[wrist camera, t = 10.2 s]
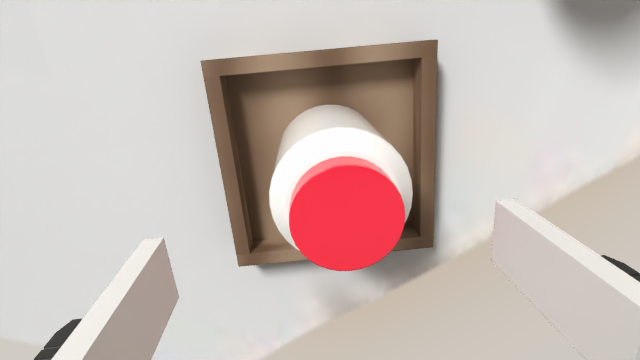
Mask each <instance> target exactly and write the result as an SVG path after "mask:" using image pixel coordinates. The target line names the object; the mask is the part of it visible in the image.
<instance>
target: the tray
mask: <svg viewBox="0 0 640 360" xmlns="http://www.w3.org/2000/svg"><path fill="white" fill-rule="evenodd" d="M437 48H438V40H426V41H414V42H403V43H392V44H381V45H370V46H359V47H348V48H337V49H326V50H315V51H304V52H292V53H281V54H270V55H259V56H248V57H237V58H226V59H215V60H205V61H201V66H202V71H203V77H204V82H205V87H206V93H207V98H208V104H209V109H210V114H211V120H212V125H213V130H214V136H215V141H216V147H217V152H218V157H219V163H220V168H221V174H222V179H223V184H224V190H225V195H226V201H227V206H228V211H229V217H230V222H231V228H232V233H233V238H234V244H235V249H236V255H237V260H238V265H239V266H249V265H259V264H269V263H279V262H289V261H299V260H309V259H308V258H306V257H305V256H304V255H303V254H302V253H301V252H300V251H299V250H297V249H295V248H294V247H293V246H292V245H291V244H290V243H289V242H288V241H286V239H285V238H284V237H283V235H282V234H281V233H280V232H279V230H278V228H277V226H276V224H275V222H274V220H273V218H272V214H271V210H270V205H269V189H270V184H271V179H272V174H273V170H274V165H275V161H276V156H277V152H278V147H279V143H280V140H281V137H282V135H283V133H284V131H285V129H286V128H287V126H288V125H289V124H290V122H291V121H293V120H294V119H295V118H296V117H297V116H298V115H299V114H301V113H303V112H304V111H306V110H308V109H310V108H313V107H315V106H320V105H326V104H331V105H341V106H345V107H349V108H351V109H353V110H355V111H357V112H359V113H360V114H361V115H363V116H364V117H366V119H367V120H368V121H369V122H370V123H371V124H372V125H373V126H374V127H375V128H376V129H377V130H378V131H379V132H380V133H381V134H382V135H383V136H384V137H385V138H386V140H387V141H388V142H389V143H390V144H391V145H392V146H393V147H394V148H395V149H396V150H397V151H398V153H399V154H400V155H401V156H402V158H403V160H404V162H405V163H406V165H407V167H408V170H409V173H410V176H411V179H412V190H413V196H412V205H411V209H410V212H409V215H408V218H407V220H406V222H405V224H404V228H403V231H402V234H401V237H400V239H399V240H398V242H397V244H396V245H395V247H394V248H393V249H392V250H391V251H400V250H410V249H420V248H430V247H433V230H434V184H435V139H436V94H437Z"/></svg>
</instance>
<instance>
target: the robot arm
mask: <svg viewBox="0 0 640 360" xmlns="http://www.w3.org/2000/svg"><path fill="white" fill-rule="evenodd" d="M491 261H492V262H493V263H494V264H495V265H496V266H497V267H498V268H499V269H500V270H501V272H502V273H503V274H504V275H505V276H506V277H507V278H508V279H509V280H510V281H511V282H512V283H513V284H514V285H515V286H516V287H517V288H518V289H519V290H520V291H521V293H523V295H524V296H525V297H526V298H527V299H528V300H529V301H530V302H531V303H532V304H533V305H534V306H535V307H536V308H537V309H538V310H539V311H540V312H541V314H542V315H543V316H544V317H545V318H546V319H547V320H548V321H549V322H550V323H551V324H552V325H553V326H554V327H555V328H556V329H557V330H558V331H559V332H560V333H561V334H562V336H564V338H565V339H566V340H567V341H568V342H569V343H570V344H571V345H572V346H573V347H574V348H575V349H576V350H577V351H578V352H579V353H580V355H582V357H583V358H584V359H585V360H640V273H638V272H637V271H635V270H634V269H632V268H630V267H629V266H627V265H626V264H624V263H622V262H620V261H617V260H615V259H612V258H610V257H607V256H605V255H602V256H600V255H598V254H597V253H595V252H594V251H592V250H591V249H589V248H588V247H586V246H585V245H583V244H581V243H580V242H579V241H577V240H576V239H574V238H573V237H571V236H570V235H568V234H566V233H565V232H564V231H562V230H560V229H559V228H558V227H556V226H555V225H553V224H552V223H550V222H549V221H547V220H545V219H544V218H543V217H541V216H539V215H538V214H537V213H535V212H534V211H532V210H531V209H529V208H528V207H526V206H525V205H523V204H522V203H520V202H519V201H517V200H516V199H507V200H498V201H496V205H495V217H494V228H493V240H492V252H491ZM178 298H179V295H178V291H177V288H176V284H175V280H174V276H173V272H172V268H171V265H170V261H169V257H168V253H167V249H166V245H165V241H164V238H156V239H147V240H143V241H142V242H141V243H140V245H139V246H138V247H137V249H136V250H135V251H134V253H133V254H132V255H131V257H130V258H129V259H128V260H127V262H126V263H125V264H124V266H123V267H122V268H121V270H120V271H119V272H118V273H117V275H116V276H115V277H114V279H113V280H112V281H111V283H110V284H109V285H108V286H107V288H106V289H105V290H104V292H103V293H102V294H101V296H100V297H99V298H98V299H97V301H96V302H95V303H94V305H93V306H92V307H91V309H90V310H89V311H88V313H87V314H86V315H85V316H84V318H83V319H75V320H72V321H70V322H69V323H68V324H67V325H65V326H64V327H63V328H61V329H60V330H59V331H57V332H56V333H55V334H54V336H53V337H52V338H51V339H50V340H49V342H48V343H47V344H46V345H45V346H44V350H41V352H40V353H39V354H38V355H37V356H36V357H35V359H34V360H151V359H152V356H153V354H154V352H155V350H156V347H157V345H158V343H159V341H160V338H161V336H162V334H163V332H164V329H165V327H166V325H167V323H168V320H169V318H170V316H171V314H172V312H173V309H174V307H175V305H176V303H177V300H178Z"/></svg>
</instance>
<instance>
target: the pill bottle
mask: <svg viewBox="0 0 640 360" xmlns="http://www.w3.org/2000/svg"><path fill="white" fill-rule="evenodd" d="M412 196H413V190H412V179H411V176H410V173H409V170H408V167H407V165H406V163H405V162H404V160H403V158H402V156H401V155H400V154H399V153H398V151H397V150H396V149H395V148H394V147H393V146H392V145H391V144H390V143H389V142H388V141H387V140H386V138H385V137H384V136H383V135H382V134H381V133H380V132H379V131H378V130H377V129H376V128H375V127H374V126H373V125H372V124H371V123H370V122H369V121H368V120H367V119H366V117H364V116H363V115H361V114H360V113H359V112H357V111H355V110H353V109H351V108H349V107H345V106H341V105H331V104H326V105H320V106H315V107H313V108H310V109H308V110H306V111H304V112H303V113H301V114H299V115H298V116H297V117H296V118H295V119H294V120H293V121H291V122H290V124H289V125H288V126H287V128H286V129H285V131H284V133H283V135H282V137H281V140H280V143H279V147H278V152H277V156H276V161H275V165H274V170H273V174H272V179H271V184H270V189H269V205H270V210H271V214H272V218H273V220H274V222H275V224H276V226H277V228H278V230H279V232H280V233H281V234H282V235H283V237H284V238H285V239H286V241H288V242H289V243H290V244H291V245H292V246H293V247H294V248H295V249H297V250H299V251H300V252H301V253H302V254H303V255H304V256H305V257H306V258H308V259H309V260H310V261H312V262H313V263H315V264H317V265H318V266H321V267H324V268H327V269H330V270H336V271H352V270H358V269H362V268H365V267H368V266H371V265H373V264H374V263H376V262H378V261H380V260H381V259H382V258H384V257H385V256H386V255H387V254H389V252H390V251H391V250H392V249H393V248H394V247H395V245H396V244H397V242H398V240H399V239H400V237H401V234H402V231H403V228H404V224H405V222H406V220H407V218H408V215H409V212H410V209H411V205H412Z"/></svg>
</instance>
